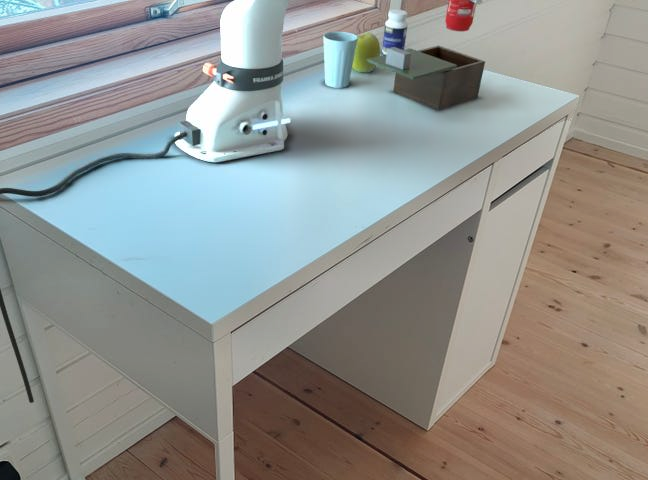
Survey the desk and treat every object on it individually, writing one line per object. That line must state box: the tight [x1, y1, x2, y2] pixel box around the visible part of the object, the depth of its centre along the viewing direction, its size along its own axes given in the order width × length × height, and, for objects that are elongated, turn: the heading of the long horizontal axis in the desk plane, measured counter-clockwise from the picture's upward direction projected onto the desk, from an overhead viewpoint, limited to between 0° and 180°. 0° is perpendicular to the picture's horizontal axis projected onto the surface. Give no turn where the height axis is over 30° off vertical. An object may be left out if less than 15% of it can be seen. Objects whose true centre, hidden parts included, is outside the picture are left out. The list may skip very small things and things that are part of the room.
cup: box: [323, 31, 358, 89], centre depth 155 cm, size 8×8×10 cm
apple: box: [352, 28, 381, 74], centre depth 164 cm, size 8×8×10 cm
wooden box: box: [392, 45, 486, 111], centre depth 153 cm, size 14×14×8 cm
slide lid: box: [367, 47, 457, 80], centre depth 144 cm, size 14×14×4 cm
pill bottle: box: [381, 9, 408, 55], centre depth 175 cm, size 6×6×10 cm
